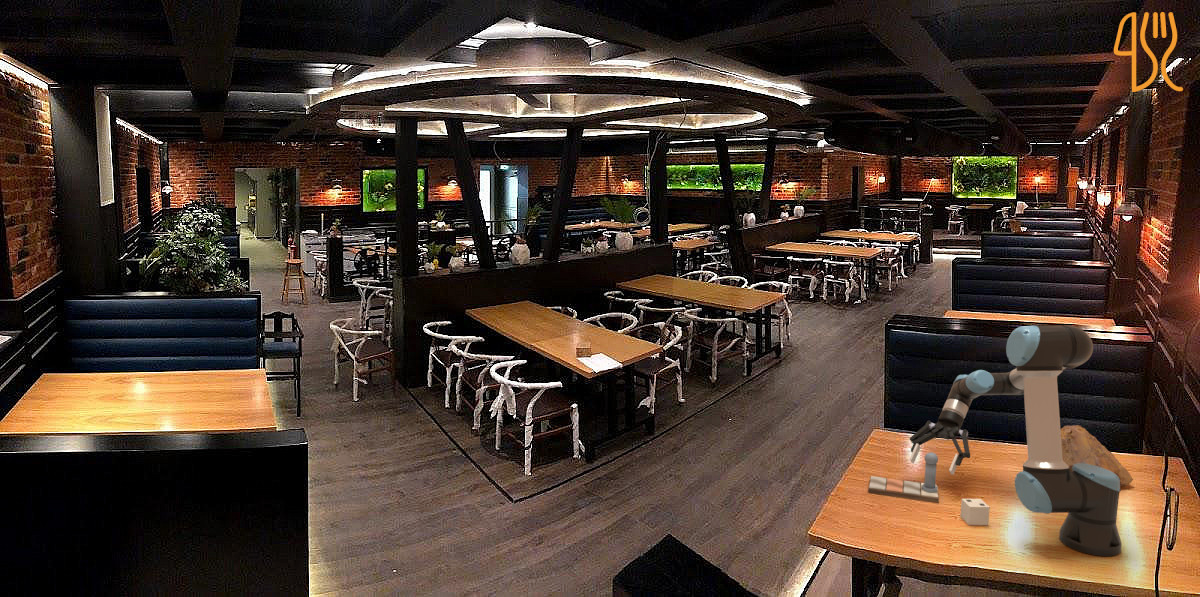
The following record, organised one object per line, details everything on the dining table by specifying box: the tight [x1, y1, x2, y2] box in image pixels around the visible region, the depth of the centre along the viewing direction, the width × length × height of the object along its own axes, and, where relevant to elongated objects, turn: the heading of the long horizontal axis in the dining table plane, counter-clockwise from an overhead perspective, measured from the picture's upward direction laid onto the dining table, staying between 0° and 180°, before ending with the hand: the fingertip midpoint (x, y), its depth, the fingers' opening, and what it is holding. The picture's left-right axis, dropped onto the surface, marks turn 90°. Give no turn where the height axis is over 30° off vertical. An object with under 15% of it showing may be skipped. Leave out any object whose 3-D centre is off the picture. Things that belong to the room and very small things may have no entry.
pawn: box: [922, 452, 939, 493], centre depth 247 cm, size 5×5×13 cm
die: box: [959, 498, 991, 526], centre depth 229 cm, size 6×6×6 cm
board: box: [868, 475, 940, 504], centre depth 252 cm, size 12×22×2 cm, turn 67°
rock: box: [1060, 424, 1134, 486], centre depth 263 cm, size 29×18×15 cm, turn 7°
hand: (930, 466), depth 249 cm, fingers open, 13 cm apart
